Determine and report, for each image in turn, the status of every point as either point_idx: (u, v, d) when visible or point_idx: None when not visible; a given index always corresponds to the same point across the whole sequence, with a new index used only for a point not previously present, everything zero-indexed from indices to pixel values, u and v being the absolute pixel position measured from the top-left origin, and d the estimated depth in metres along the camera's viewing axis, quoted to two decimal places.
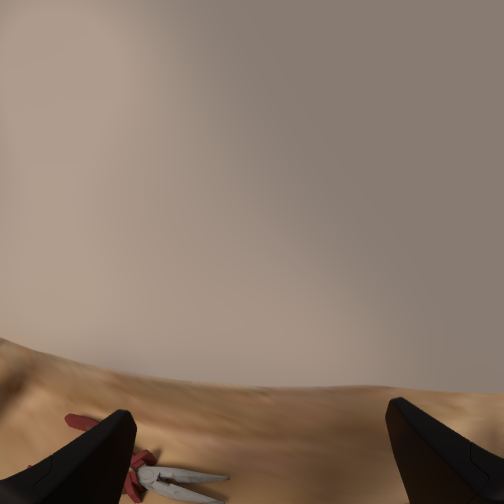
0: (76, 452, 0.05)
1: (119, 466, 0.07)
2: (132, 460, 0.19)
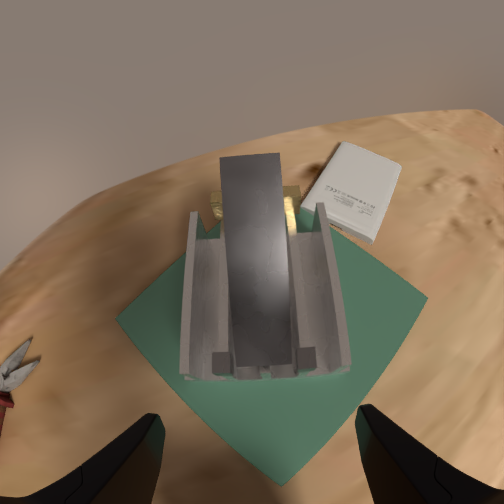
0: (108, 461, 0.05)
1: (150, 472, 0.07)
2: None
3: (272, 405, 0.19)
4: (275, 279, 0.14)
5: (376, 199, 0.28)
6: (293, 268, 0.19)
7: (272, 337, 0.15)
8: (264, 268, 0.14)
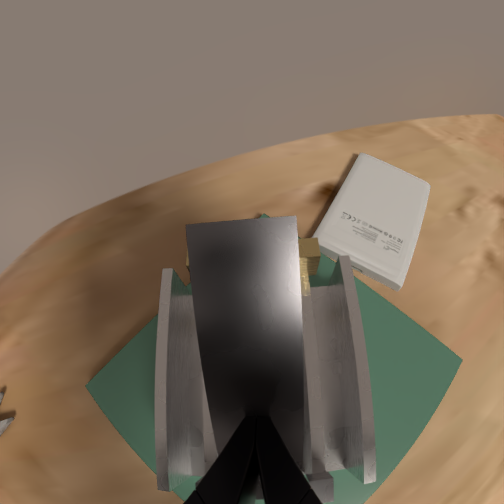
0: (228, 478, 0.05)
1: (255, 480, 0.06)
2: None
3: None
4: (283, 419, 0.08)
5: (404, 230, 0.22)
6: (306, 361, 0.13)
7: None
8: (266, 405, 0.08)
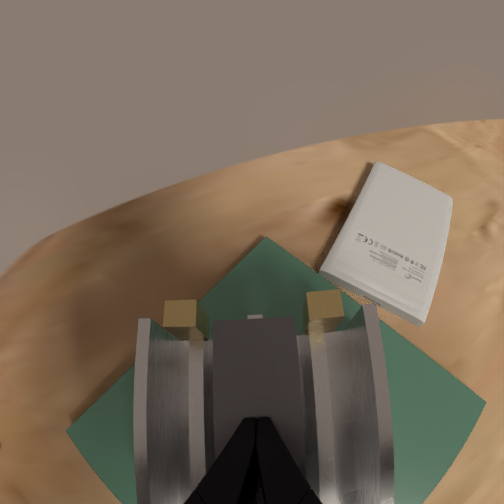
0: (228, 478, 0.05)
1: (255, 480, 0.06)
2: None
3: None
4: None
5: (427, 254, 0.18)
6: (319, 442, 0.09)
7: None
8: None
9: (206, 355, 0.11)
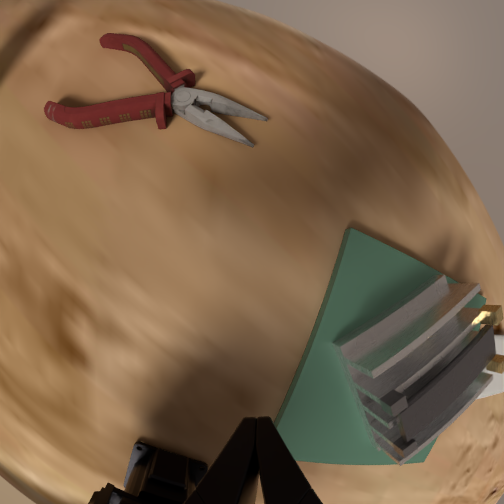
0: (228, 478, 0.05)
1: (255, 480, 0.06)
2: (171, 79, 0.20)
3: (335, 415, 0.21)
4: (452, 396, 0.15)
5: (486, 387, 0.23)
6: None
7: (423, 419, 0.15)
8: (456, 386, 0.15)
9: None
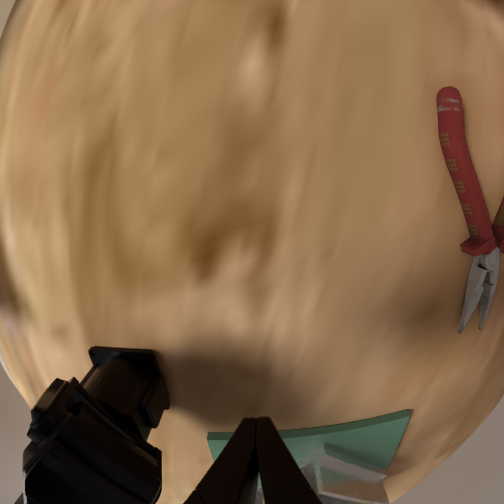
0: (228, 478, 0.05)
1: (255, 480, 0.06)
2: None
3: None
4: None
5: None
6: None
7: None
8: None
9: None
